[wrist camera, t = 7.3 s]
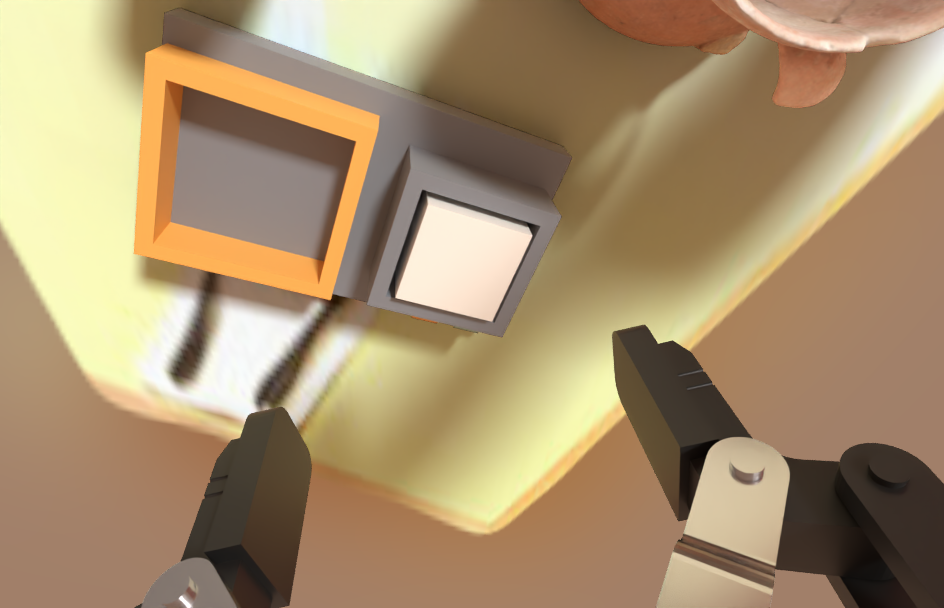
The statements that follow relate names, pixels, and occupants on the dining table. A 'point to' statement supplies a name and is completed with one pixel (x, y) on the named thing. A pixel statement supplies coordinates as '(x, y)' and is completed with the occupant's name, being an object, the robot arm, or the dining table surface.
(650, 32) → the ceramic jug
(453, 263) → the button
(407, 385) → the dining table surface
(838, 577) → the robot arm
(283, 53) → the grey and orange tray
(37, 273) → the dining table surface
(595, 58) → the dining table surface
